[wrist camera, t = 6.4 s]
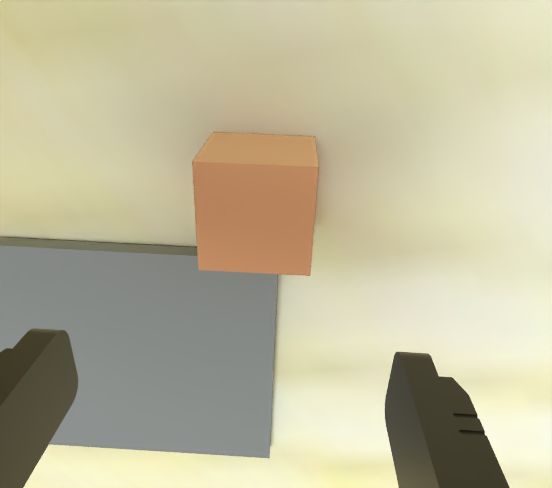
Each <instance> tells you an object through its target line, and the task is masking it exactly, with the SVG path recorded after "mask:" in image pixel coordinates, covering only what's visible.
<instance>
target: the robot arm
mask: <svg viewBox="0 0 552 488" xmlns="http://www.w3.org/2000/svg"><path fill="white" fill-rule="evenodd" d="M77 389H78V374H77V370H76V365H75V361H74V356H73V352H72V347H71V343H70V338H69V335H68V333H67V332H66V331H65V330H54V329H38V328H33V329H30V330H29V331H28V332H27V333H26V334H25V335H24V336H23V337H22V338H21V340H20V341H19V342H18V343H17V344H16V345H15V346H14V348H13V349H12V348H6V349H4V350H3V351H1V352H0V488H23V487H24V485H25V483H26V482H27V480H28V478H29V477H30V475H31V473H32V472H33V470H34V468H35V467H36V465H37V463H38V461H39V460H40V458H41V456H42V455H43V453H44V451H45V450H46V448H47V446H48V444H49V443H50V441H51V439H52V438H53V436H54V434H55V433H56V431H57V429H58V428H59V426H60V424H61V422H62V421H63V419H64V417H65V416H66V414H67V412H68V411H69V409H70V407H71V406H72V404H73V402H74V400H75V397H76V394H77ZM385 420H386V427H387V432H388V436H389V441H390V446H391V451H392V456H393V461H394V465H395V470H396V475H397V480H398V485H399V488H509V485H508V483H507V481H506V479H505V476H504V474H503V472H502V470H501V467H500V465H499V463H498V461H497V458H496V456H495V454H494V451H493V449H492V447H491V445H490V442H489V440H488V438H487V436H485V433H484V432H485V431H484V429H483V426H482V424H481V422H480V420H479V419H478V418H477V413H476V411H475V408H474V406H473V404H472V402H471V399H470V397H469V395H468V394H467V393H466V392H465V391H464V390H463V388H462V387H461V386H460V385H459V384H458V383H457V382H456V381H455V380H454V379H453V378H452V377H439V376H438V374H437V371H436V368H435V366H434V363H433V361H432V358H431V356H430V355H429V354H426V353H410V352H396V354H395V356H394V360H393V364H392V369H391V374H390V379H389V384H388V389H387V394H386V400H385Z"/></svg>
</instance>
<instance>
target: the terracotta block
mask: <svg viewBox="0 0 552 488" xmlns="http://www.w3.org/2000/svg"><path fill="white" fill-rule="evenodd" d="M192 164H193V182H194V200H195V218H196V236H197V254H198V270H207V271H226V272H246V273H266V274H286V275H306V276H310V271H311V259H312V246H313V234H314V221H315V209H316V196H317V184H318V172H319V165H318V158H317V150H316V143H315V136H294V135H271V134H248V133H225V132H213V133H212V134H211V136H210V137H209V139H208V140H207V142H206V143H205V144H204V146H203V147H202V149H201V150H200V151H199V153H198V154H197V156H196V157H195V159H194V160H193V161H192Z"/></svg>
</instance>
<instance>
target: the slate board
mask: <svg viewBox="0 0 552 488" xmlns="http://www.w3.org/2000/svg"><path fill="white" fill-rule="evenodd" d="M277 283H278V274H266V273H246V272H226V271H207V270H198V254H197V247H181V246H162V245H143V244H124V243H105V242H87V241H68V240H49V239H30V238H11V237H0V352H1V351H3V350H4V349H6V348H12V349H13V348H14V346H15V345H16V344H17V343H18V342H19V341H20V340H21V338H22V337H23V336H24V335H25V334H26V333H27V332H28V331H29V330H30V329H33V328H38V329H54V330H65V331H66V332H67V333H68V335H69V338H70V343H71V347H72V352H73V356H74V361H75V365H76V370H77V374H78V389H77V394H76V397H75V400H74V402H73V404H72V406H71V407H70V409H69V411H68V412H67V414H66V416H65V417H64V419H63V421H62V422H61V424H60V426H59V428H58V429H57V431H56V433H55V434H54V436H53V438H52V439H51V441H50V443H49V444H53V445H69V446H85V447H101V448H117V449H133V450H149V451H165V452H180V453H196V454H212V455H228V456H244V457H260V458H269V455H270V437H271V415H272V393H273V371H274V349H275V327H276V305H277Z"/></svg>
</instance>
